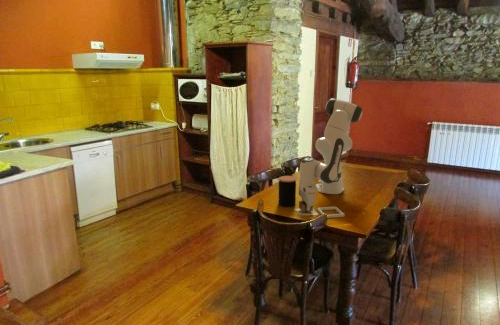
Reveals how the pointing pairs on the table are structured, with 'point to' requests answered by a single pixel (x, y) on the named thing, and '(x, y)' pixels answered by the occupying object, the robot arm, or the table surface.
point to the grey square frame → (331, 214)
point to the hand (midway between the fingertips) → (305, 207)
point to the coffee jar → (287, 191)
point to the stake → (306, 212)
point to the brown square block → (304, 206)
